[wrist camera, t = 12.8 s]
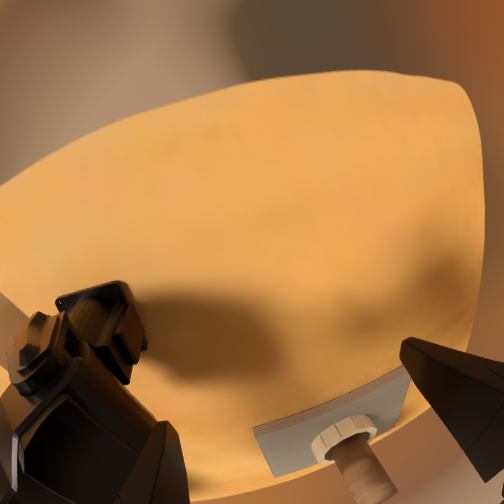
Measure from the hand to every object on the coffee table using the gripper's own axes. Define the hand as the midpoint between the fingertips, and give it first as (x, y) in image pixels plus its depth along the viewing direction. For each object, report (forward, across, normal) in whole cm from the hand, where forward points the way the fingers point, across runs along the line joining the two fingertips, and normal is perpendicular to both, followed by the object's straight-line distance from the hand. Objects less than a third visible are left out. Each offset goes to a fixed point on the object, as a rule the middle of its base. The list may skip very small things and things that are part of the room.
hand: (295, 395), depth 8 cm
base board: (+13, -8, +29) cm, 33 cm away
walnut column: (+12, -8, +29) cm, 32 cm away
